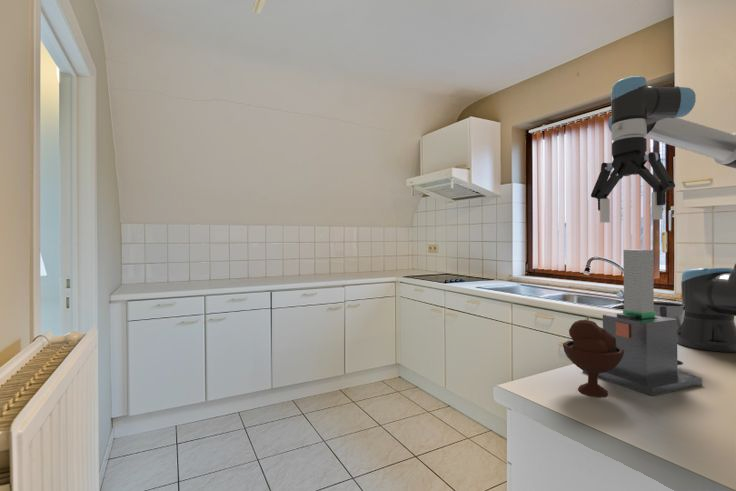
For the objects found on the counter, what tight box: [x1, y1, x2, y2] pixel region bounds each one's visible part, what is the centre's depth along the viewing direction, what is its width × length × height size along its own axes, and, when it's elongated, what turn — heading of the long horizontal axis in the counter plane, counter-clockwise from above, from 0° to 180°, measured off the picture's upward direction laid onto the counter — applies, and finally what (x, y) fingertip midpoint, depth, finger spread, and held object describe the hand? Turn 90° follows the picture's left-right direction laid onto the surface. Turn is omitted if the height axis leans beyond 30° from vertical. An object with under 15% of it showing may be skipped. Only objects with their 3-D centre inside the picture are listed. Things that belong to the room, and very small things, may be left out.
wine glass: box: [654, 300, 685, 366], centre depth 99 cm, size 8×8×15 cm
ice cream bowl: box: [562, 319, 624, 398], centre depth 79 cm, size 11×11×15 cm
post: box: [622, 249, 655, 320], centre depth 87 cm, size 4×4×21 cm
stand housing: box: [582, 312, 703, 397], centre depth 87 cm, size 16×16×15 cm
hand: (629, 221), depth 99 cm, fingers open, 13 cm apart
